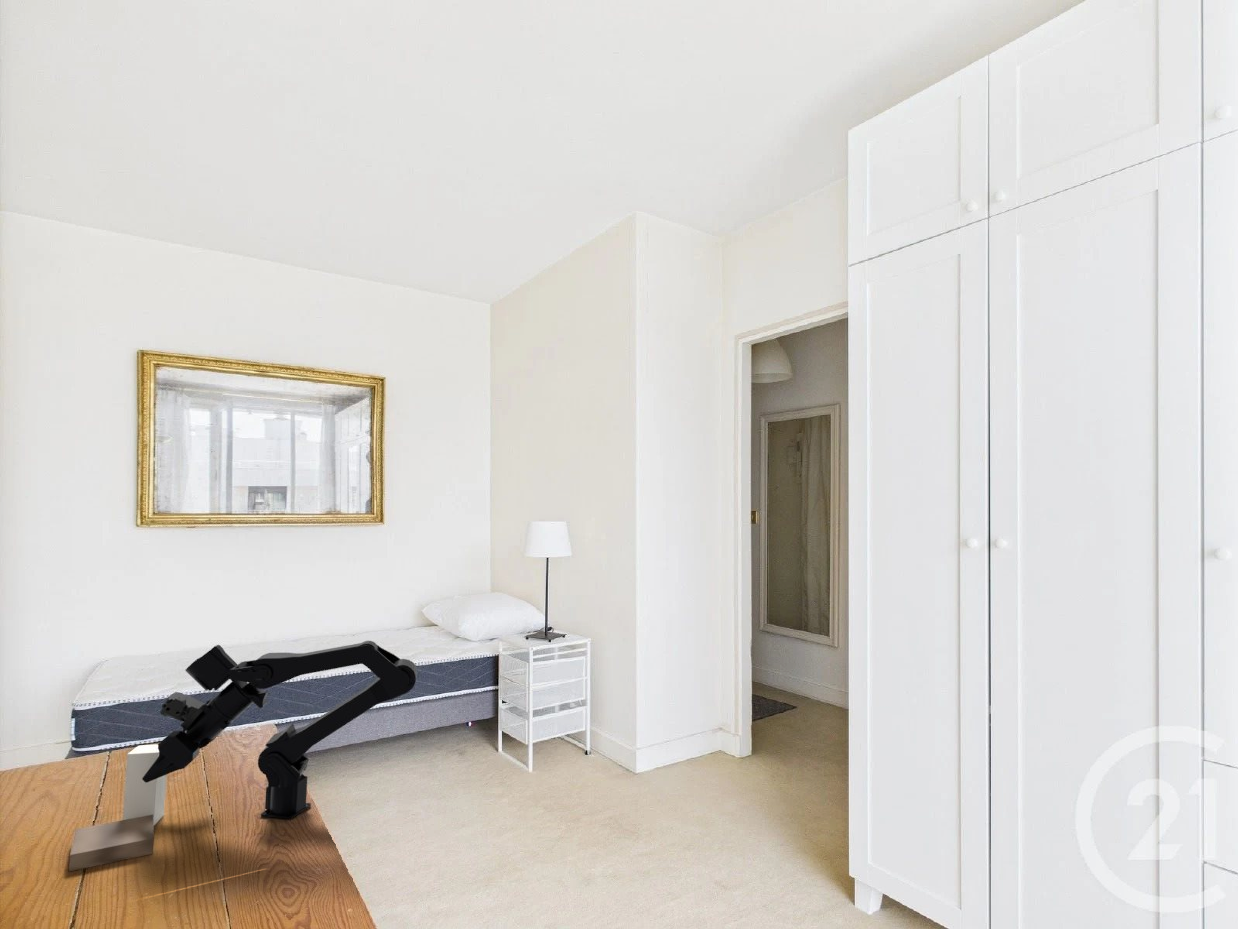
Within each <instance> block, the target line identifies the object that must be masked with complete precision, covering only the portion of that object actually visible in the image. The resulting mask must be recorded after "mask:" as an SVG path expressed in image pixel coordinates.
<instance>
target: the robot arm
mask: <svg viewBox="0 0 1238 929" xmlns="http://www.w3.org/2000/svg"><path fill="white" fill-rule="evenodd" d="M357 665H363V666H364V667H366V668H367V669H369V671H370V672H372V673H373V674H374V675H375V676H376V679H375V680H374V681H373V682H371V683H370V684H369V685H368V686H367V687H364V688H363V689H362V690H360V691H359V692H357V693H355V694H353V695H352V696H350V697H349V698H348V699H346V700H345V701H342V702H341V703H340V704H338V705H336V706H335V707H333V708H331V709H330V710H329V711H327V712H325V713H324V714H323V715H321V716H319V717H318V718H316V719H314V720H313V721H311V722H310V723H307V724H306V725H304V726H302V727H298V728H296V727H295V725H294V723H291V724H289V725H288V726H287V727H286V728H285V729H283V730H282V731H280V732H277V733H274V734H273V735H272V736H271V737H270V739H269V740H268V741H267V742H266V743H265V747H264V748H263V750H262V751H261V752H260V753H259V755H258V759H257V766H258V769H259V771H260V772H261V773H262V774H264V775H265V777H266V780H267V786H266V788H265V798H264V800H265V801H264V809H265V810H264V811H262V812H260V816H261V817H265V818H275V819H284V820H291V819H294V818H295V817H296V816H298V815H299V814H301V813H303V812H304V811H306V810H307V809H309V808H310V807H312V803H311V802H307V794H308V792H307V791H308V790H307V789H308V776H307V775H305V774H303V773H304V772H305V771H306V769H307V767H308V764H309V762H310V759H309V758H308V756H306V755H305V754H306V753H307V752H308V751H309V750H310V749H311V748H312V747H313V746H314V745H316V744H319V742H321V741H323V740H324V739H325V738H327V737H328V736H331V735H332V734H334V733H335V732H337V731H338V730H340V729H341V728H343V727H344V726H346V725H348V724H349V723H351V722H352V721H354V720H355V719H356V718H358V717H360V716H361V715H362V714H365V713H366V712H367V711H369V710H371V709H372V708H374V707H375V706H377V705H379V704H382V703H386V702H388V701H392V700H394V699H396V698H398V697H401V696H403V695H405V694H408V693H409V692H410V691H411V690H413V688H415V685H416V680H417V676H418V668H417V665H416V664H415V663H414V661H412V660H410V659H406V658H399V657H398V656H397V655H395V654H394V653H392V652H390V651H388V650H387V649H384V648H382V647H381V646H380V645H378V644H377V643H376V642H375V641H372V640H365V641H363V642H358V643H353V644H347V645H342V646H337V647H332V648H326V649H320V650H316V651H310V652H309V651H308V652H304V653H300V652H299V653H298V652H297V653H294V652H269V653H264V654H263V655H261V656H260V657H258V658H257V659H252V660H247V661H246V660H244V661H241V662H239V663H237V662H236V661H235V660H234V659H233V658H232V657H231V656H230V655H229V654H228V653H227V652H226V651H225V649H224V648H223V647H222V646H221V645H220V644H216V645H215V646H213V647H212V648H210V649H209V650H208V651H207V652H206V653H204V654H203V655H201V656H200V657H199V658H196V659H195V660H194V661H193V662H192V663H191V664H190V665H188V666H187V667H186V669H185V672H186V674H188V675H189V676H190V677H191V678H192V679H193V680H194V681H195V682H196V683H197V684H198V685H199V686H201V687H202V688H203V689H204V691H205V692H207V691H208V692H211V691H212V690H213V691H215V692H216V691H218V690H219V689H221V688H222V686H224V685H225V684H226V683H227V682H228V681H231V682H230V683H228V685H226V687H224V688H223V689H222V690H220V692H219V693H217V694H216V695H215V696H213V698H212V699H211V698H210V699H209V700H207V701H206V702H202V701H200V700H199V699H197V698H195V697H192V696H189V695H187V694H185V693H183V692H178V691H174V692H173V693H171V694H170V695H169V696H168V697H167V699H166V700H165V702H164V703H163V704H162V705H161V708H160V711H159V713H160V714H161V715H162V716H164V717H170V718H172V719H175V720H177V721H179V722H182V723H180V727H181V728H182V730H173V731H172V732H170V733H169V734H168V735H166V736H165V737H164V738H163V739H162V740H161V741H160V742H159V743H157V744H158V750H159V757H158V758H157V759H156V761H155V762H154V763H153V765H152V766H151V767H150V769H149V770H148V771H147V773H146V774H145V775H144V777H143V778H142V780H143V781H144V782H146V783H147V782H150V781H152V780H154V779H157V778H159V777H162V776H164V775H169V774H172V773H173V772H174V773H175V772H176V771H179V770H184V769H186V768H187V766H188V765H190V764H191V763H192V762H193V761H194V760H195V759H197V757H198V756H199V755H200V750H201V749H203V748H205V747H207V746H208V745H209V744H210V743H212V742H213V741H214V740H215V739H216V738H217V737H218V736H219V735H220V734H221V733H223V731H224V730H226V729H227V727H229V726H230V724H232V722H234V721H235V720H237V719H238V717H240V715H242V714H243V712H245V711H247V709H248V708H250V706H252V704H254V705H255V706H256V707H258V708H259V709H262V708H264V707H265V706H266V705H267V704H268V694H269V691H268V690H265V689H269V688H272V687H274V686H277V685H280V684H282V683H285V682H288V681H289V680H292V679H295V678H297V677H300V676H303V675H309V674H313V673H319V672H324V671H325V672H326V671H329V670H335V669H341V668H346V667H352V666H357Z"/></svg>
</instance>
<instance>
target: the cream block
mask: <svg viewBox="0 0 1238 929" xmlns="http://www.w3.org/2000/svg"><path fill="white" fill-rule="evenodd" d="M158 744H159V743H157V744H144V745H140V744H139V745H137V746H136V747H135V748H133V749H132V750H131V751H129V752H128V753H126V763H125V764H126V765H125V766H126V768H125V780H124V793H123V794H124V795H123V807H122V819H121V820H127V819H132V818H137V817H143V816H148V815H153V827H154V826H155V825H156V824H157V823H158V822H159V821H161V819H162V818H163V817H164V815H165V804H166V792H167V788H166V787H167V779H168V778H167V775H168V774H167V775H164V776H162V777H159V778H157V779H154V780H152V781H150V782H147V783H146V782H144V781H143V780H142V778H143V777H144V775H145V774H146V773H147V771H148V770H149V769H150V767H151V766H152V765H153V763H154V762H155V761H156V759H157V758H158V757H159V750H158Z"/></svg>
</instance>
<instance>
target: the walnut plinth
mask: <svg viewBox="0 0 1238 929" xmlns="http://www.w3.org/2000/svg"><path fill="white" fill-rule="evenodd" d="M154 831H155V830H154V826H153V815H148V816H143V817H137V818H132V819H127V820H122V819H121V820H116V821H112V822H111V821H110V822H105V823H99V824H96V825H95V824H94V825H90V826H85V827H80V828H75V829H74V833H73V839H72V844H71V849H70V854H69V865H68V872H73V871H78V870H84V869H87V868H92V867H98V866H102V865H107V864H111V863H116V862H121V861H126V860H130V859H135V858H139V857H143V856H149V855H152V854H154V846H155V843H154V842H155V841H154V840H155V833H154Z"/></svg>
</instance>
